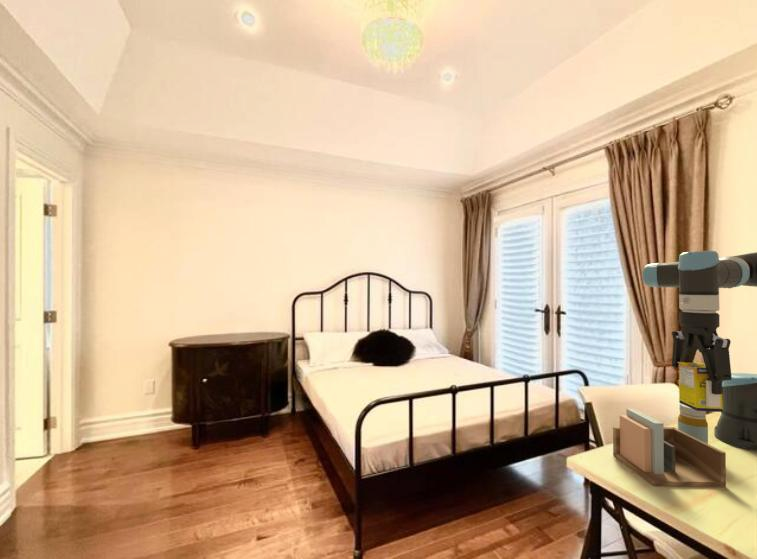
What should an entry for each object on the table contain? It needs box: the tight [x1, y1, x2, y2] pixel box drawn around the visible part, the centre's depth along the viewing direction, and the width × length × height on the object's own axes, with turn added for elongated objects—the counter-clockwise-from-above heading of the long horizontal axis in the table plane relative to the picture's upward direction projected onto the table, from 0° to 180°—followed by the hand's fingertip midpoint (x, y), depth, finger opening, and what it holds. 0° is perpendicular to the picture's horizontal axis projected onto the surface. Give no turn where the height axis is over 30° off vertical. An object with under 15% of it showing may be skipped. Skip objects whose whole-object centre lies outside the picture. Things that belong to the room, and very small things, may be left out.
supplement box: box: [678, 362, 723, 413], centre depth 87 cm, size 6×6×11 cm
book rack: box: [612, 426, 727, 488], centre depth 98 cm, size 19×16×9 cm
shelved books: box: [619, 408, 665, 474], centre depth 100 cm, size 4×11×14 cm, turn 179°
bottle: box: [677, 403, 709, 444], centre depth 108 cm, size 7×7×15 cm
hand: (699, 401), depth 87 cm, fingers closed on supplement box, 6 cm apart
